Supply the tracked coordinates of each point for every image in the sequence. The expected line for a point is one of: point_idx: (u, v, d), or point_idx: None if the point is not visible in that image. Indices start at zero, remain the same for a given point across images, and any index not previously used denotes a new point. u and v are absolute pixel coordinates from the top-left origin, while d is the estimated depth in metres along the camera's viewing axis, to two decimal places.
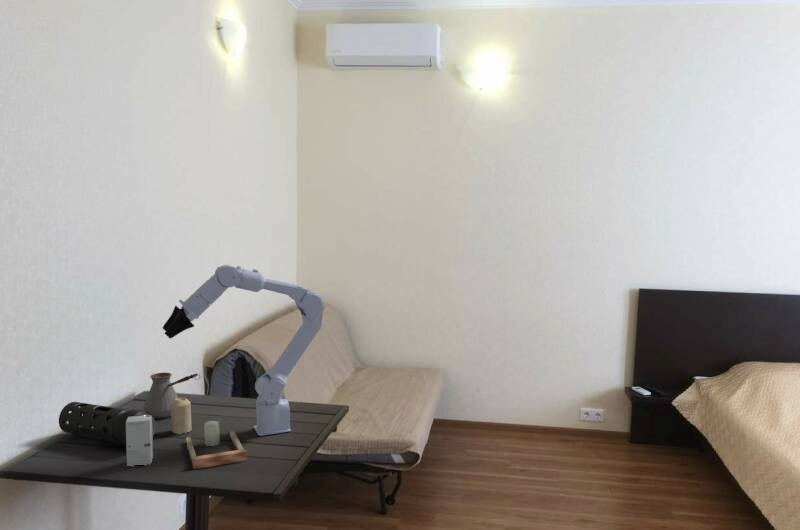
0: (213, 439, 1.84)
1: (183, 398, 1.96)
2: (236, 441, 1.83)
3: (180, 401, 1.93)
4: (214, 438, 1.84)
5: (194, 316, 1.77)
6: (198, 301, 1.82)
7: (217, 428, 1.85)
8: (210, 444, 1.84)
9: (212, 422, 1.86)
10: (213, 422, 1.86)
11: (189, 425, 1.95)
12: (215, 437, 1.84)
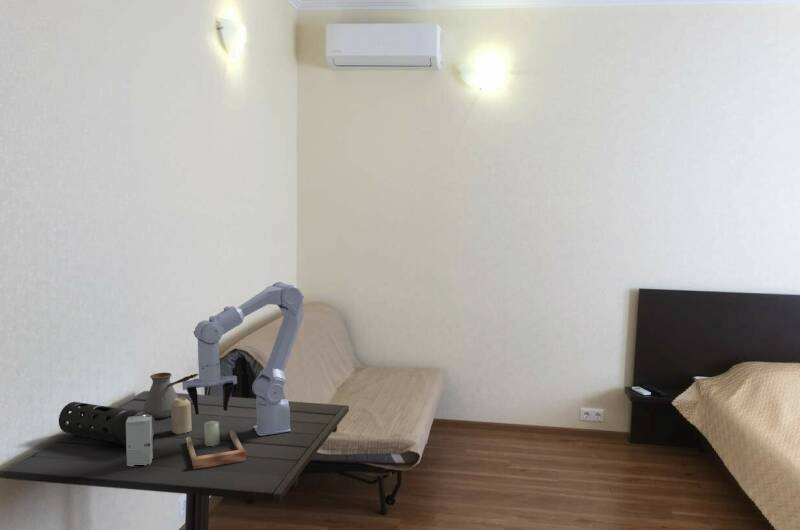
0: (213, 439, 1.84)
1: (183, 398, 1.96)
2: (236, 441, 1.83)
3: (180, 401, 1.93)
4: (214, 438, 1.84)
5: None
6: (219, 368, 1.84)
7: (217, 428, 1.85)
8: (210, 444, 1.84)
9: (212, 422, 1.86)
10: (213, 422, 1.86)
11: (189, 425, 1.95)
12: (215, 437, 1.84)
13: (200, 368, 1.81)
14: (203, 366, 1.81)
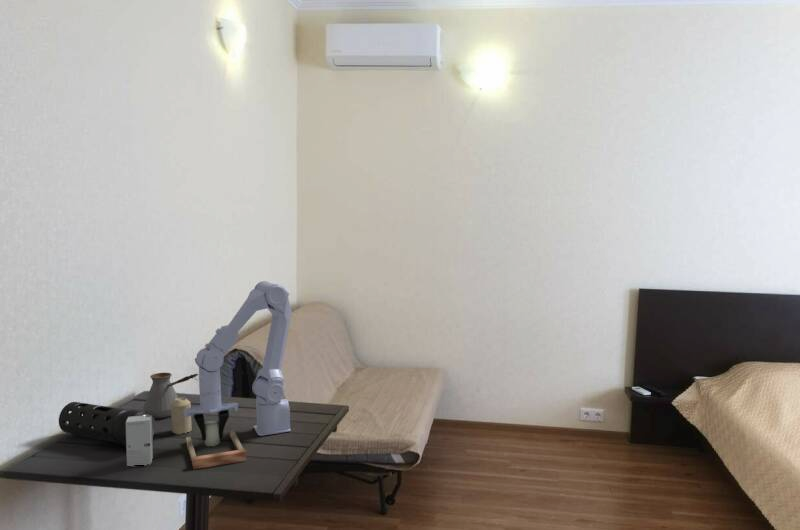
0: (213, 439, 1.84)
1: (183, 398, 1.96)
2: (236, 441, 1.83)
3: (180, 401, 1.93)
4: (214, 438, 1.84)
5: None
6: (220, 395, 1.85)
7: (217, 428, 1.85)
8: (210, 444, 1.84)
9: (212, 422, 1.86)
10: (213, 422, 1.86)
11: (189, 425, 1.95)
12: (215, 437, 1.84)
13: (201, 396, 1.82)
14: (204, 394, 1.82)
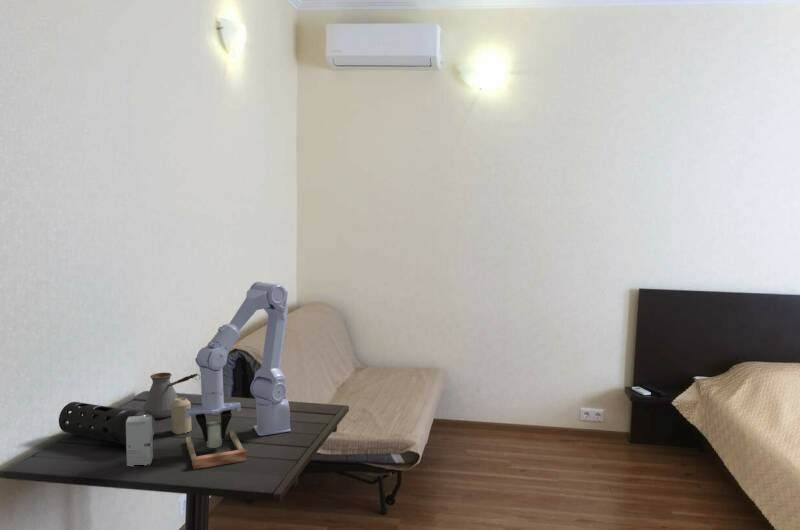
0: (215, 440, 1.79)
1: (183, 398, 1.96)
2: (236, 441, 1.83)
3: (180, 401, 1.93)
4: (216, 439, 1.79)
5: None
6: None
7: (219, 429, 1.80)
8: (212, 445, 1.79)
9: (214, 422, 1.81)
10: (215, 422, 1.81)
11: (189, 425, 1.95)
12: (217, 438, 1.79)
13: (203, 395, 1.77)
14: (206, 393, 1.77)
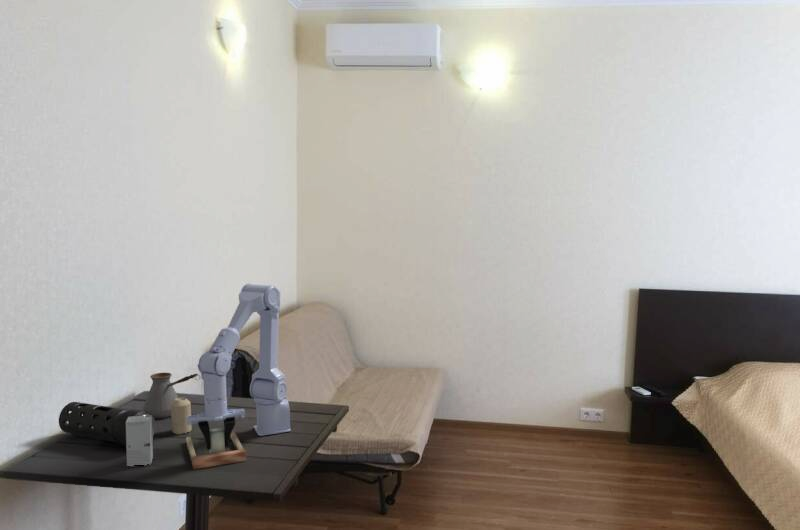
0: (218, 448, 1.73)
1: (183, 398, 1.96)
2: (236, 441, 1.83)
3: (180, 401, 1.93)
4: (220, 446, 1.74)
5: None
6: (226, 402, 1.74)
7: (223, 436, 1.74)
8: None
9: (217, 430, 1.75)
10: (218, 430, 1.75)
11: (189, 425, 1.95)
12: (221, 446, 1.74)
13: (206, 402, 1.72)
14: (209, 400, 1.71)
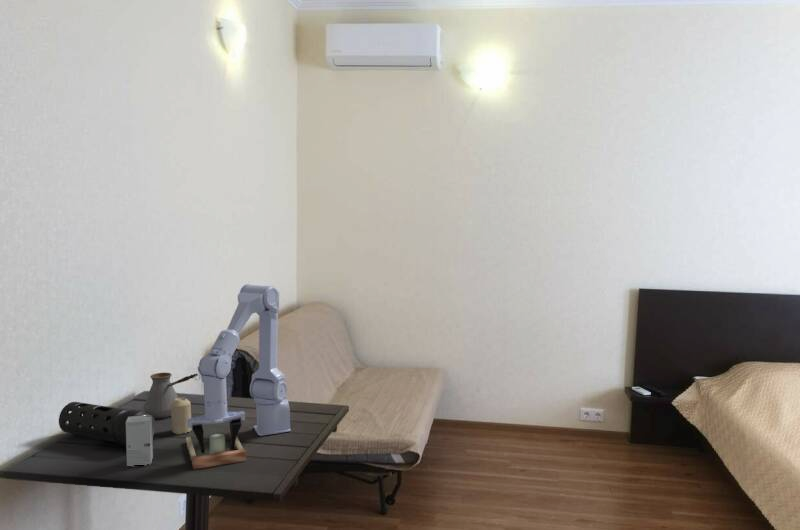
0: None
1: (183, 398, 1.96)
2: (236, 441, 1.83)
3: (180, 401, 1.93)
4: (220, 452, 1.74)
5: None
6: (226, 404, 1.74)
7: (223, 442, 1.74)
8: None
9: (218, 435, 1.76)
10: (219, 435, 1.76)
11: None
12: (221, 451, 1.74)
13: (206, 405, 1.72)
14: (209, 403, 1.71)
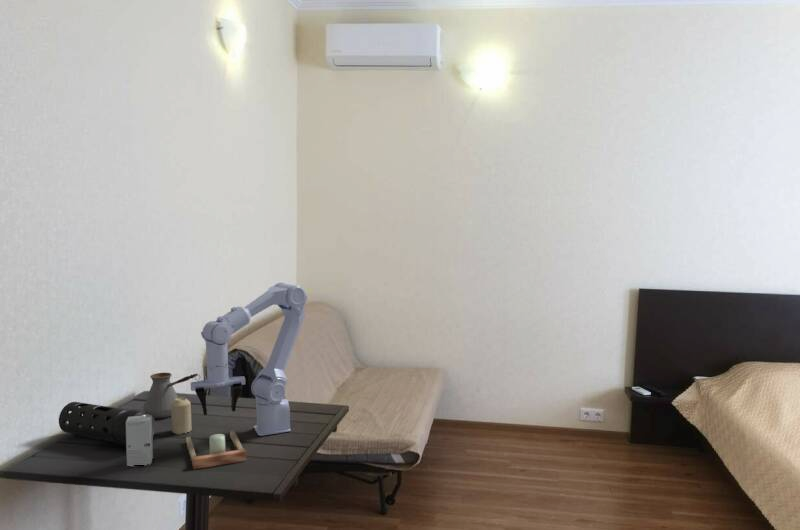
0: None
1: (183, 398, 1.96)
2: (236, 441, 1.83)
3: (180, 401, 1.93)
4: (220, 452, 1.74)
5: None
6: None
7: (223, 442, 1.74)
8: None
9: (218, 435, 1.76)
10: (219, 435, 1.76)
11: (189, 425, 1.95)
12: (221, 451, 1.74)
13: (208, 369, 1.81)
14: (211, 367, 1.80)
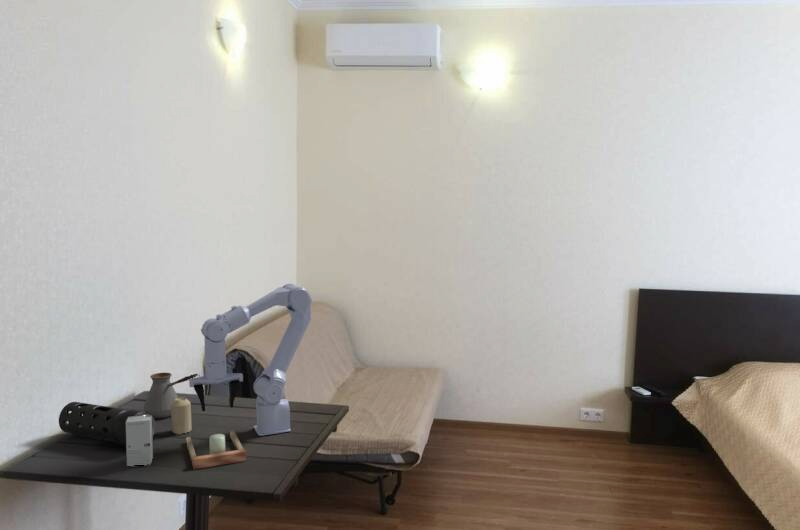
0: None
1: (183, 398, 1.96)
2: (236, 441, 1.83)
3: (180, 401, 1.93)
4: (220, 452, 1.74)
5: None
6: None
7: (223, 442, 1.74)
8: None
9: (218, 435, 1.76)
10: (219, 435, 1.76)
11: (189, 425, 1.95)
12: (221, 451, 1.74)
13: (207, 365, 1.84)
14: (210, 364, 1.83)
